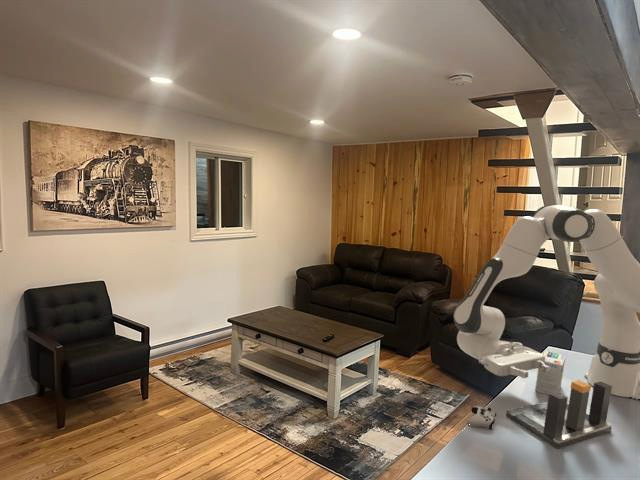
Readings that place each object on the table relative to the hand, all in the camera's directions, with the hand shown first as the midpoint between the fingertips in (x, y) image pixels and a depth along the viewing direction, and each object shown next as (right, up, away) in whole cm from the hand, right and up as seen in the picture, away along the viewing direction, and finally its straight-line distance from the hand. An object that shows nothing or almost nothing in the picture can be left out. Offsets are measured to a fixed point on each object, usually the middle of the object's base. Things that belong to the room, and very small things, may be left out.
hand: (537, 372), depth 126 cm
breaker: (+5, -11, -10) cm, 16 cm away
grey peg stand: (+2, -12, -6) cm, 14 cm away
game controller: (-19, -12, -7) cm, 23 cm away
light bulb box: (+12, -10, +16) cm, 22 cm away
